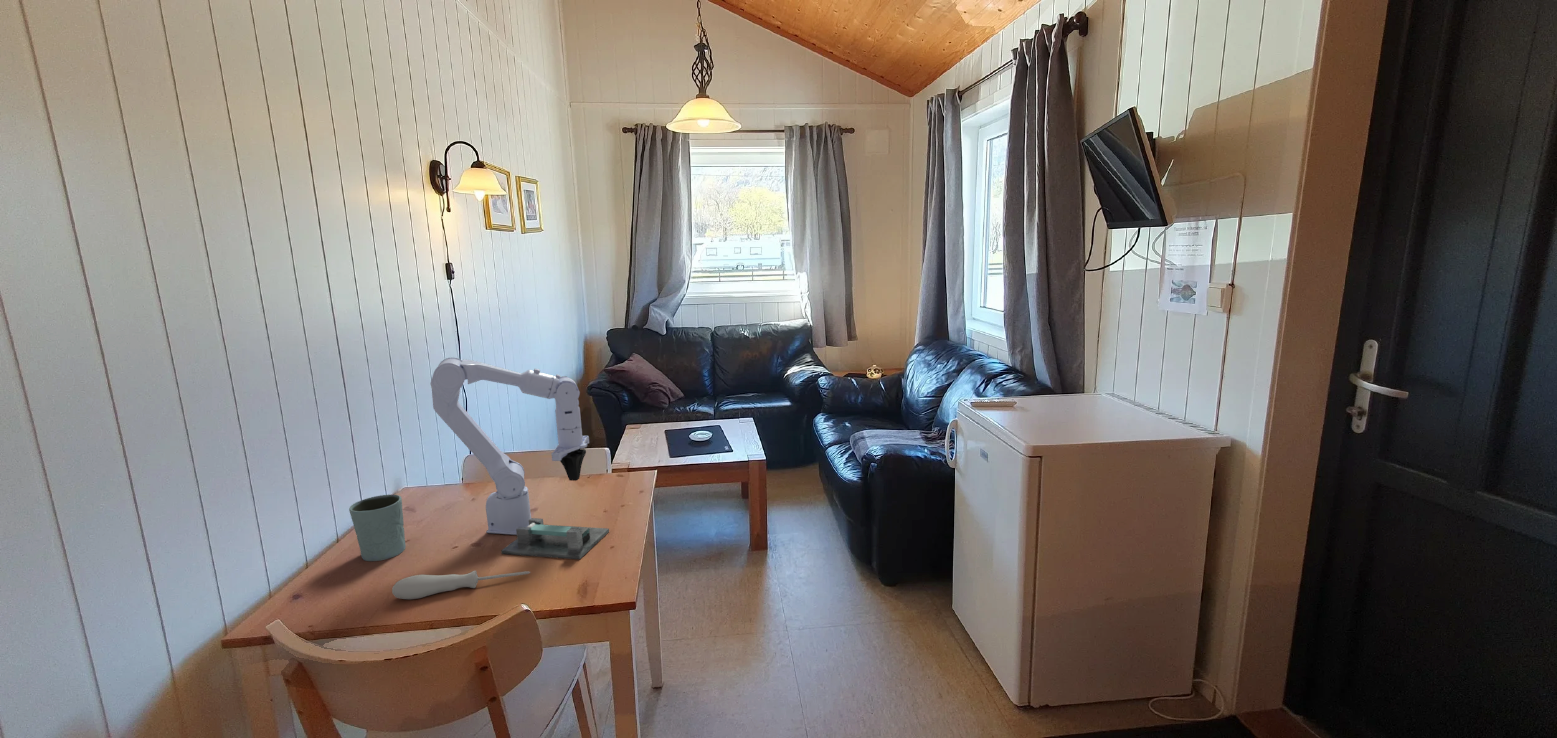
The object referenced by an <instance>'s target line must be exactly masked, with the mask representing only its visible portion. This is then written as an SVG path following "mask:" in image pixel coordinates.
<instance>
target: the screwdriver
mask: <svg viewBox="0 0 1557 738" xmlns="http://www.w3.org/2000/svg"><path fill="white" fill-rule="evenodd" d="M477 573H478V572H477V570H473V571H471V572H469V573H466V574H457V573H456V574H455V573H451V574H443V575H442V574H441V575H439V574H438V575H435V574H416V575H410V576H408V577H404V578H402V579H399V580H398V581H396V582H395V584H394V585H393V586H392V590H391V593H392V595H393V596H394V597H395V598H397V599H403V600H417V599H418V600H419V599H422V598H425V597H428V596H432V595H435V594H438V593H444V592H448V591H455V590H457V589H461V588H471V589H476V587H477V584H478V583H479V581H483V580H484V581H485V580H491V579H500V578H507V577H515V576H522V575H523V576H524V575H528V574H531V571H528V570H527V571H518V572H512V573H511V572H509V573H504V574H503V573H501V574H495V575H488V576H487V575H486V576H478V574H477Z"/></svg>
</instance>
